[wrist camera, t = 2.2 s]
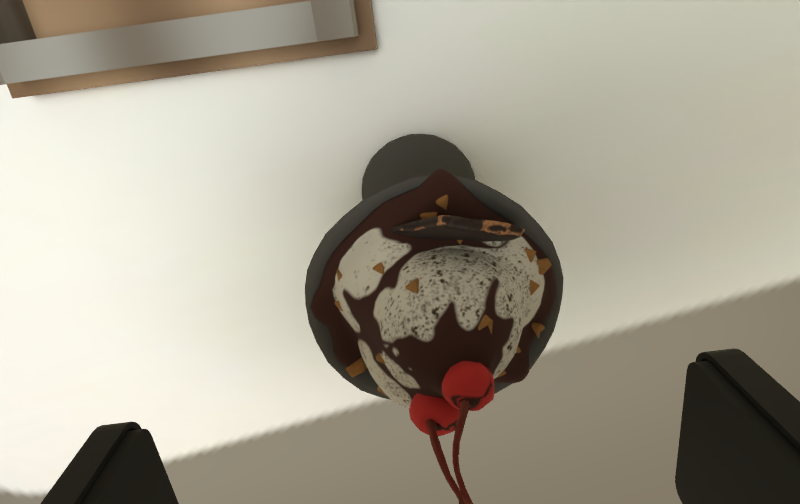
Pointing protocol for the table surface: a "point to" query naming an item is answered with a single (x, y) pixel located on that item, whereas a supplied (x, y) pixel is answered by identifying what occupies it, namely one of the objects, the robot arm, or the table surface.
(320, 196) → the table surface
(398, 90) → the table surface
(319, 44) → the stand
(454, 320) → the sundae
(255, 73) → the table surface
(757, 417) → the robot arm
